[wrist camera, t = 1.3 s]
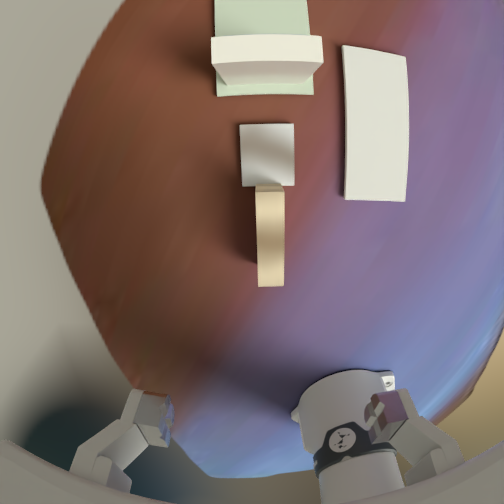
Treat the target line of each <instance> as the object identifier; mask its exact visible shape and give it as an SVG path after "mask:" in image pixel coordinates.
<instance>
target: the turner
mask: <svg viewBox="0 0 504 504" xmlns="http://www.w3.org/2000/svg"><path fill="white" fill-rule="evenodd" d="M240 146H241V169H242V187H243V186H256V189H255V197H256V227H257V258H258V287H262V286H284V190H283V187H282V186H287V185H294V124H248V125H240Z"/></svg>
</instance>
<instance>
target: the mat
mask: <svg viewBox="0 0 504 504" xmlns="http://www.w3.org/2000/svg"><path fill="white" fill-rule="evenodd" d="M242 34H301V35H310V30H309V19H308V9H307V0H215V37H221V36H228V35H242ZM216 83H217V97H220V96H234V95H256V94H300V95H313V74H312V75H311V76H310V77H309V78H308V79H307V80H306V81H305V82H304V83H303V84H247V85H229V86H227V84H226V83H225V82H224V80H223V79H222V77H221V76H220V75H219V73H218V72H217V70H216Z"/></svg>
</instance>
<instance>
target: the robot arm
mask: <svg viewBox="0 0 504 504" xmlns="http://www.w3.org/2000/svg"><path fill="white" fill-rule="evenodd" d="M170 401H171V398H170V395H168V394H161V393H155V392H149V391H144V390H138V389H132V391H131V392H130V394H129V397H128V400H127V402H126V405H125V408H124V411H123V413H122V416H121V419H120V420H115V421H114V422H113V423H111V424H110V425H109V426H107V427H106V428H104V429H103V430H102V431H100V432H99V433H98V434H96V435H95V436H93V437H92V438H90V439H89V440H88V441H86V442H85V443H84V444H82V445H81V446H79V447H78V449H77V452H76V455H75V458H74V460H73V463H72V465H71V468H70V471H69V472H67V471H65V470H63V469H61V468H59V467H57V466H54V465H52V464H50V463H48V462H46V461H44V460H43V459H41V458H38V457H37V456H35V455H33V454H31V453H30V452H28V451H26V450H24V449H23V448H21V447H19V446H17V445H16V444H14V443H13V442H11V441H8V440H3V441H0V504H174V503H168V502H163V501H158V500H154V499H149V498H144V497H141V496H137V495H133V494H129V491H130V487H131V483H132V481H131V479H130V478H129V477H128V476H127V475H126V474H125V473H124V472H123V471H122V470H124V469H125V468H126V467H127V466H128V465H129V464H130V463H131V462H132V461H133V460H134V459H135V458H136V457H137V456H138V455H139V454H140V453H141V452H142V451H143V450H144V449H145V448H146V447H147V446H148V444H150V445H155V446H162V447H168V445H169V441H170V436H171V433H170V431H169V428H170V427H172V426H173V422H174V407H173V405H172V404H170ZM291 418H292V420H294V421H296V422H298V423H299V424H300V429H301V435H302V440H303V446H304V449H305V451H308V452H309V453H311V454H313V455H314V456H313V459H314V470H315V474H316V477H317V478H318V479H319V483H320V492H321V502H322V504H504V440H503V441H501V442H500V443H499V444H497V445H495V446H493V447H492V448H490V449H488V450H487V451H485V452H483V453H482V454H480V455H478V456H476V457H474V458H473V459H470V460H468V461H466V462H465V461H464V458H463V456H462V453H461V451H460V448H459V446H458V443H457V441H456V440H455V439H453V438H452V437H451V436H449V435H448V434H446V433H445V432H443V431H442V430H440V429H439V428H438V427H436V426H435V425H434V424H432V423H431V422H429V421H428V420H427V419H425V418H424V417H422V416H420V417H419V415H418V413H417V410H416V408H415V406H414V403H413V401H412V399H411V397H410V395H409V392H408V390H407V389H406V388H403V389H398V390H395V378H394V374H393V372H391V371H386V372H371V371H367V370H350V371H344V372H340V373H336V374H333V375H330V376H328V377H325V378H323V379H321V380H319V381H318V382H316V383H314V384H313V385H312V386H310V387H309V388H308V389H307V390H306V391H305V392H304V393H303V395H302V396H301V398H300V401H299V405H298V407H296V408H295V409H294V410H293V411H292V412H291ZM396 450H397V451H398V452H399V453H400V454H401V455H402V456H403V457H404V458H405V459H406V460H407V461H408V462H409V463H410V464H411V465H412V466H413V467H412V468H411V469H410V470H409V471H407V472H406V474H405V479H406V483H407V487H405V486H404V484H403V480H402V477H401V474H400V471H399V468H398V464H397V461H396V458H395V457H396V455H397V451H396Z"/></svg>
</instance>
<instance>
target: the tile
mask: <svg viewBox="0 0 504 504" xmlns="http://www.w3.org/2000/svg"><path fill="white" fill-rule="evenodd" d="M211 55H212V65H213V66H214V68H215V69H216V70H217V72H218V73H219V75H220V76H221V77H222V79H223V80H224V82H225V83H226V84H227V86H229V85H247V84H303V83H304V82H305V81H306V80H307V79H308V78H309V77H310V76H311V75H312V74H313V73H314V72H315V71H316V70H317V69H318V68H319V67H320V66H321V65H322V64H323V50H322V38H321V36H311V35H301V34H242V35H228V36H221V37H211Z"/></svg>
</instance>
